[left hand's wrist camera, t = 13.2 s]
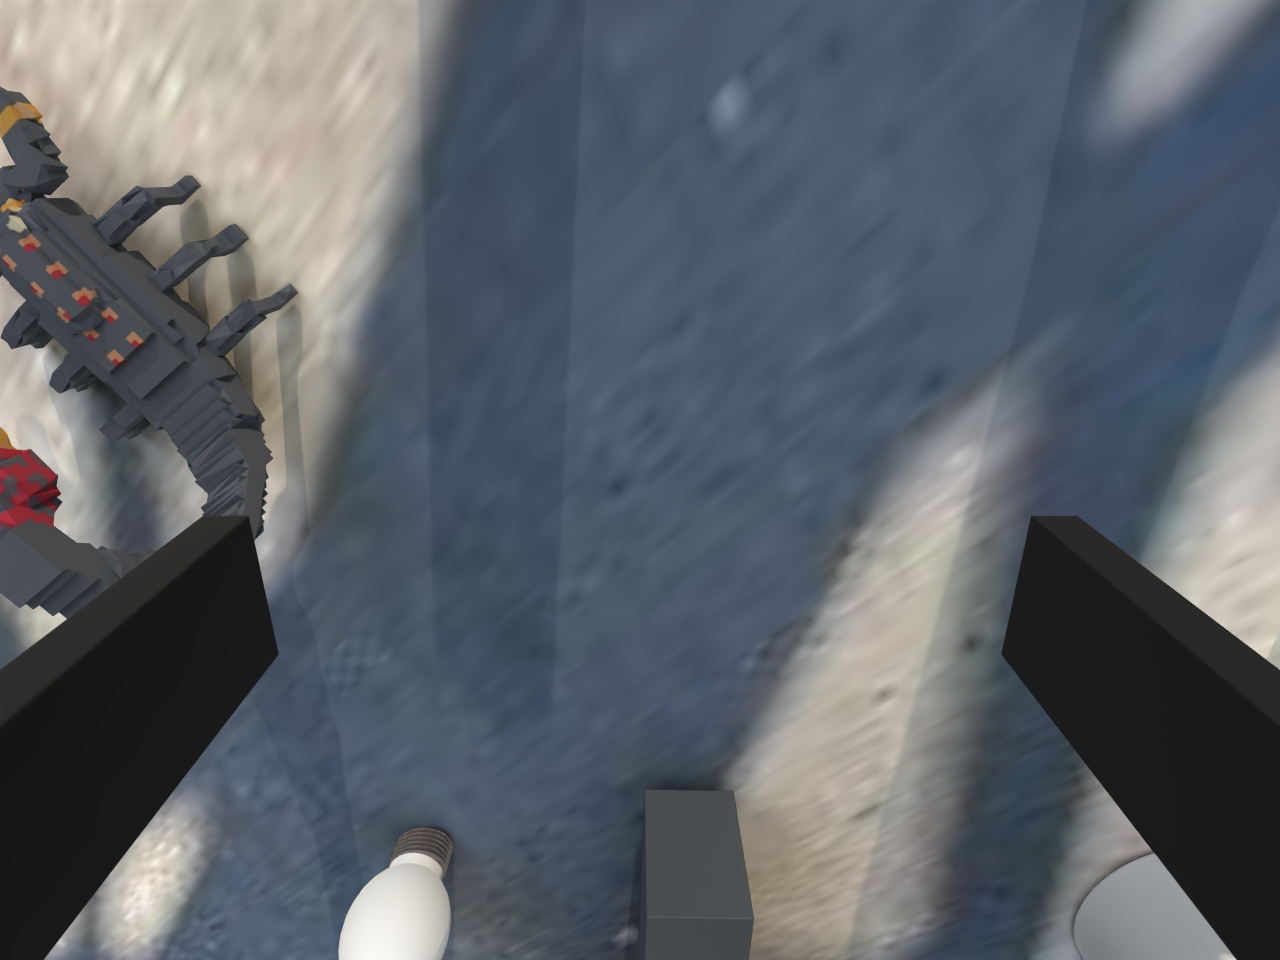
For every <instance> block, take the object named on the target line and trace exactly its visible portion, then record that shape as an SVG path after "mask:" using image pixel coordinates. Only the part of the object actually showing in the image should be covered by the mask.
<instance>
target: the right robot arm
mask: <svg viewBox="0 0 1280 960" xmlns="http://www.w3.org/2000/svg"><path fill="white" fill-rule="evenodd" d="M1073 935H1074V941H1075V944H1076V947H1077V949H1078V951H1079V953H1080V955H1081V957H1082V959H1083V960H1236V959H1235V957H1234V956H1233V955H1232V953H1231V952H1230V951H1229V949H1228V948H1227V947H1226V946H1225V944H1224V943H1223V942H1222V940H1221V939H1220V938H1219V936H1218V935H1217V934H1216V933H1215V931H1214V930H1213V929H1212V927H1211V926H1210V925H1209V923H1208V922H1207V921H1206V920H1205V918H1204V917H1203V916H1202V914H1201V913H1200V912H1199V910H1198V909H1197V908H1196V907H1195V905H1194V904H1193V903H1192V901H1191V900H1190V899H1189V897H1188V896H1187V895H1186V894H1185V892H1184V891H1183V890H1182V888H1181V887H1180V886H1179V884H1178V883H1177V882H1176V881H1175V879H1174V878H1173V877H1172V875H1171V874H1170V873H1169V871H1168V870H1167V869H1166V868H1165V866H1164V865H1163V864H1162V862H1161V861H1160V860H1159V858H1158V857H1157V856H1156V855H1155V853H1152V854H1149V855H1146V856H1144V857H1141V858H1139V859H1136V860H1134V861H1132V862H1130V863H1128V864H1126V865H1124V866H1122V867H1120V868H1119V869H1117V870H1116V871H1114V872H1113V873H1111V874H1110V875H1108V876H1107V877H1106V878H1104V879H1103V880H1102V881H1101V882H1100V883H1099V884H1097V885H1096V886H1095V887H1094V888H1093V889H1092V890H1091V892H1090V893H1089V894H1088V895H1087V897H1086V898H1085V899H1084V901H1083V902H1082V904H1081V906H1080V908H1079V910H1078V912H1077V914H1076V917H1075V921H1074V927H1073Z"/></svg>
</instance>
